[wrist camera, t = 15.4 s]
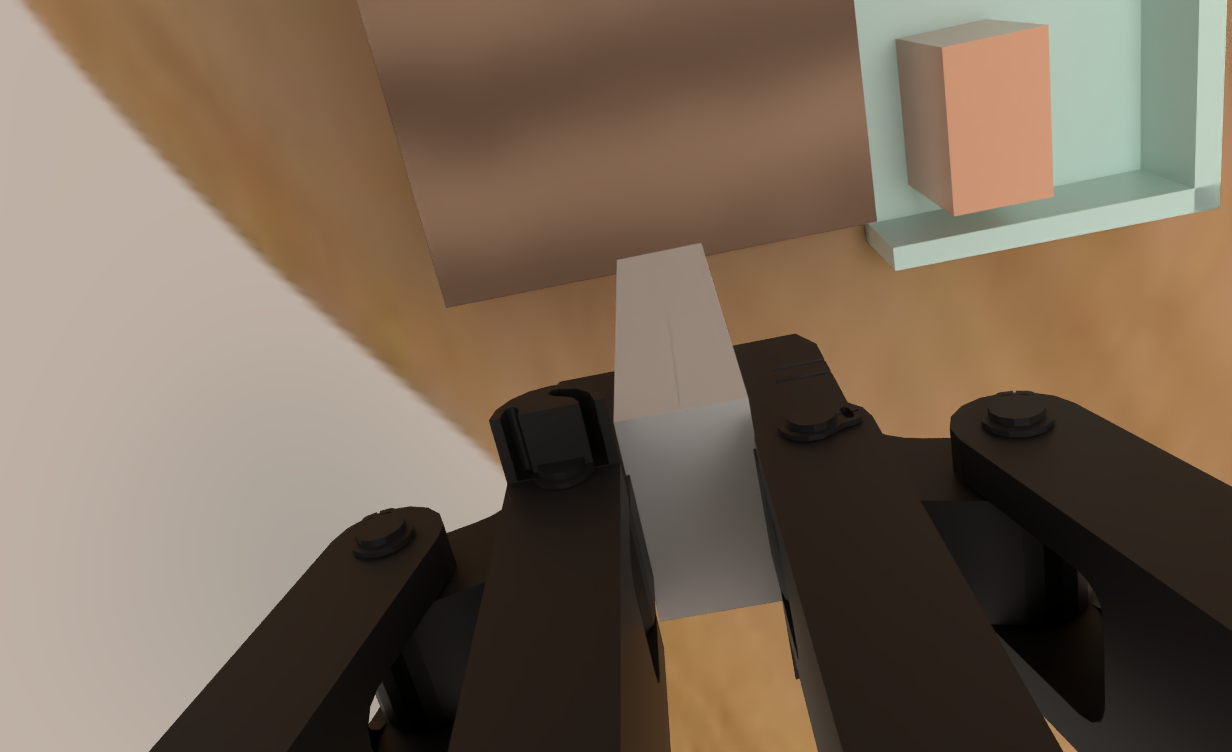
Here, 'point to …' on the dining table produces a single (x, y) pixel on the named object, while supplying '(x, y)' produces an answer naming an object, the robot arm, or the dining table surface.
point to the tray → (1063, 121)
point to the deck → (619, 130)
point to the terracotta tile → (977, 114)
